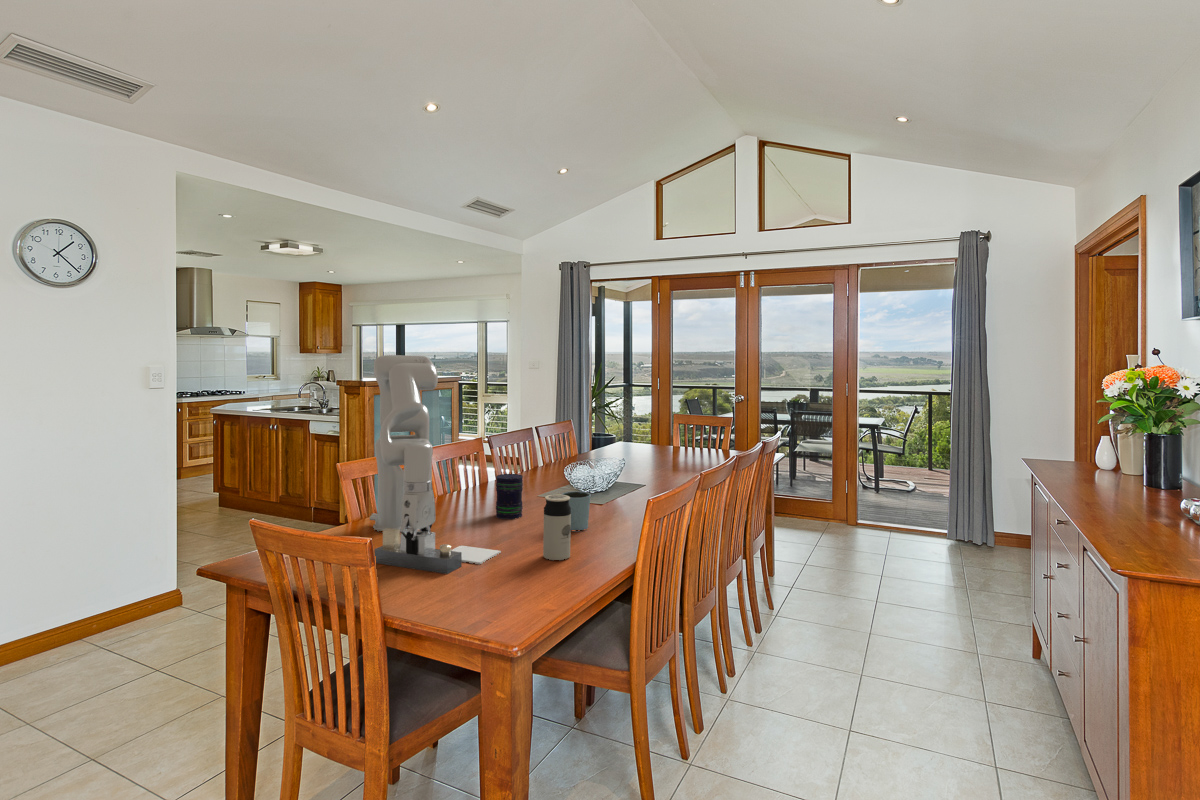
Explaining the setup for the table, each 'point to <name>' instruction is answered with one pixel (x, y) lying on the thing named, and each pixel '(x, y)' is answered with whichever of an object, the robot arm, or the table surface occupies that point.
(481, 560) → the mat
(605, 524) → the table surface
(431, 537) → the grey rectangular block
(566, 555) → the travel mug
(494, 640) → the table surface
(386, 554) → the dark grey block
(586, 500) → the blue grey cup
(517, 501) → the storage jar
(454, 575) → the table surface
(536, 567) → the table surface
